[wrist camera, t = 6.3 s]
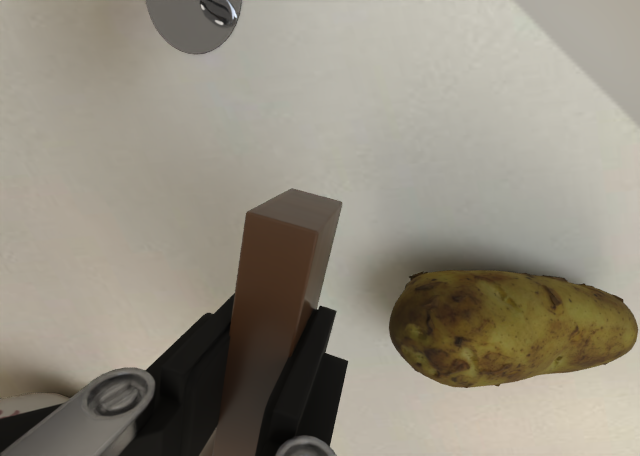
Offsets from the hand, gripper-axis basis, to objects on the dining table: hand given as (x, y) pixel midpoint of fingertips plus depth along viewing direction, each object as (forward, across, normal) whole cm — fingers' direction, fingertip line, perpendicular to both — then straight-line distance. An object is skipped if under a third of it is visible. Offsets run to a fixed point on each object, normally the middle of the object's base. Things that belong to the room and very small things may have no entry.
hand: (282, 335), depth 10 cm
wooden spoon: (+1, 0, +3) cm, 3 cm away
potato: (+14, -11, +2) cm, 18 cm away
